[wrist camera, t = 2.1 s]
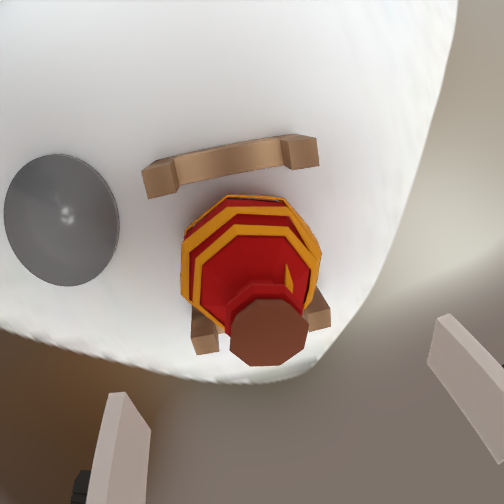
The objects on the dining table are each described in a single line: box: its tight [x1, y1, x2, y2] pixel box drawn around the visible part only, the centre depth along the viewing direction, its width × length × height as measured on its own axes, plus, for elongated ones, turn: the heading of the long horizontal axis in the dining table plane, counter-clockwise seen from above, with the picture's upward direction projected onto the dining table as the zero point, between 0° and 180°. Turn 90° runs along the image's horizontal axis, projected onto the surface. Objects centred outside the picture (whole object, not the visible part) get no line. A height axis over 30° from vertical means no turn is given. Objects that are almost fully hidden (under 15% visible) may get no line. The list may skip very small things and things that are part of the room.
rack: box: [141, 134, 331, 355], centre depth 26 cm, size 12×16×6 cm
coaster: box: [4, 154, 119, 286], centre depth 26 cm, size 13×13×1 cm
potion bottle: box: [180, 195, 322, 366], centre depth 22 cm, size 10×10×15 cm
